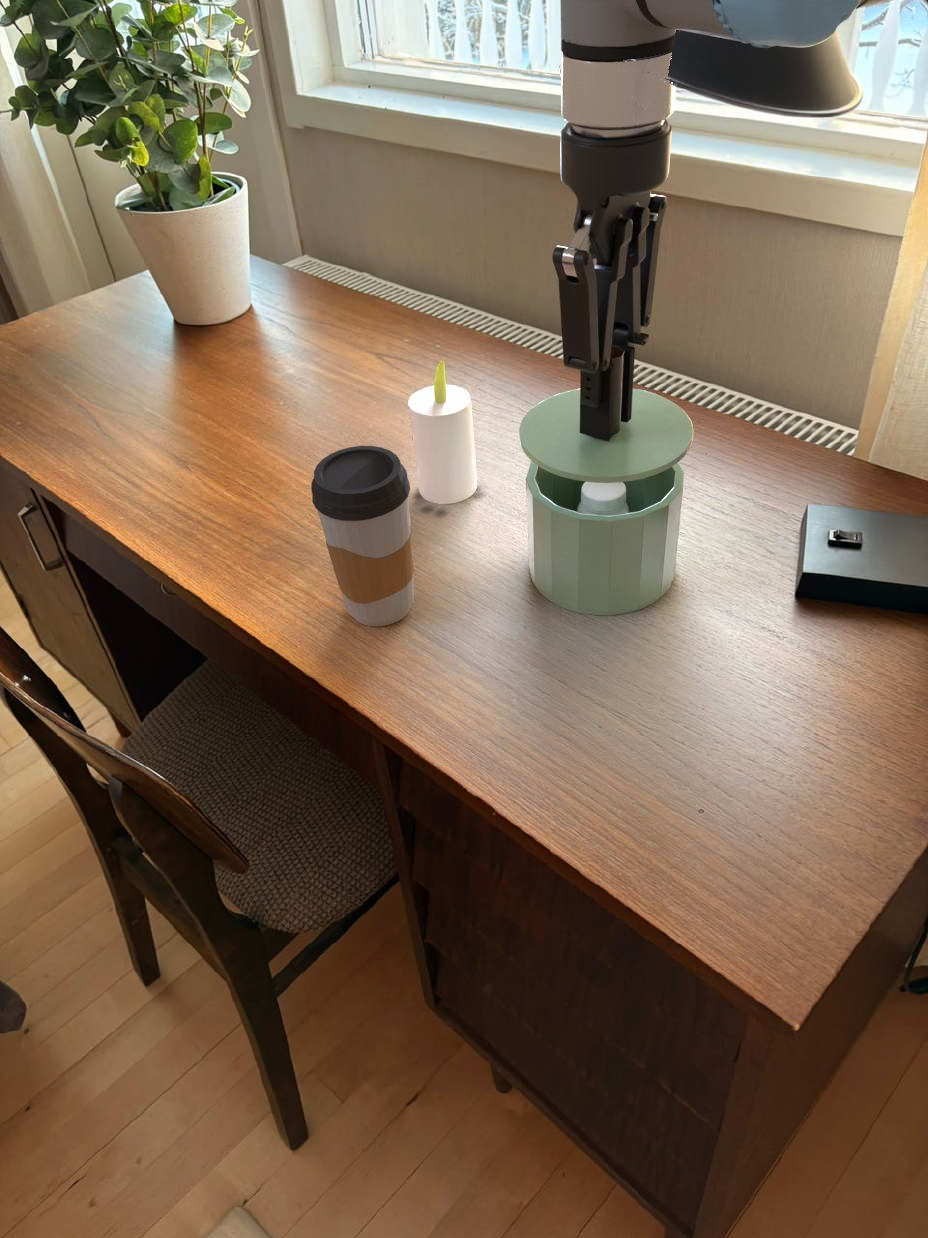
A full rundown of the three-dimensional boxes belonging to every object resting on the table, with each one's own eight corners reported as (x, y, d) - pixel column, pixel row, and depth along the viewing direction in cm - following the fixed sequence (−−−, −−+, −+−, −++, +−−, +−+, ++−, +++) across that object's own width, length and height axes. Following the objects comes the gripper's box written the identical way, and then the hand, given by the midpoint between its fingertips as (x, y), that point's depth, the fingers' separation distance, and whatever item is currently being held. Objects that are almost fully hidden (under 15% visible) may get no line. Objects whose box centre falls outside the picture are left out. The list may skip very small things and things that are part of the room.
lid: (720, 422, 81) (731, 332, 76) (643, 508, 73) (649, 414, 67) (573, 384, 88) (573, 299, 83) (486, 459, 80) (480, 370, 74)
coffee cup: (442, 591, 89) (426, 454, 79) (393, 646, 84) (369, 507, 74) (369, 568, 92) (345, 434, 82) (318, 619, 87) (286, 483, 77)
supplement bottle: (611, 584, 87) (614, 509, 81) (566, 568, 89) (566, 494, 84) (635, 556, 90) (639, 482, 84) (591, 541, 92) (593, 468, 86)
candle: (435, 465, 105) (421, 339, 95) (487, 478, 102) (478, 349, 92) (406, 495, 101) (389, 367, 91) (459, 509, 98) (447, 378, 88)
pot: (698, 551, 90) (709, 457, 83) (632, 634, 83) (638, 538, 76) (575, 511, 97) (575, 421, 90) (502, 584, 89) (497, 492, 82)
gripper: (621, 87, 70) (610, 376, 86) (506, 148, 61) (518, 458, 77) (716, 95, 67) (687, 395, 82) (610, 161, 57) (599, 483, 73)
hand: (605, 425), depth 79 cm, fingers closed on lid, 3 cm apart
